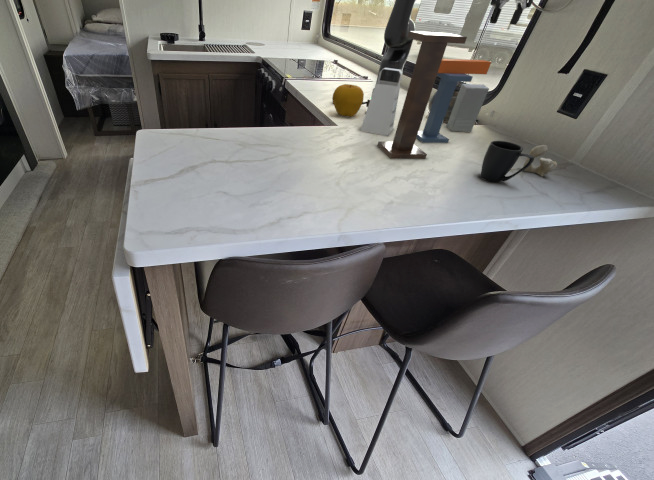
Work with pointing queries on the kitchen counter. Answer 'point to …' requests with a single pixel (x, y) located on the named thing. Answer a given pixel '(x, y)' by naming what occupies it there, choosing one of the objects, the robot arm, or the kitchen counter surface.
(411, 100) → the tall stand
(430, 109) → the bowl
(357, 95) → the apple
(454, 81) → the lower shelf
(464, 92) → the cosmetic box
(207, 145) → the kitchen counter surface
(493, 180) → the mug
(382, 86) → the grater
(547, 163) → the bone
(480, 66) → the orange wooden plank
